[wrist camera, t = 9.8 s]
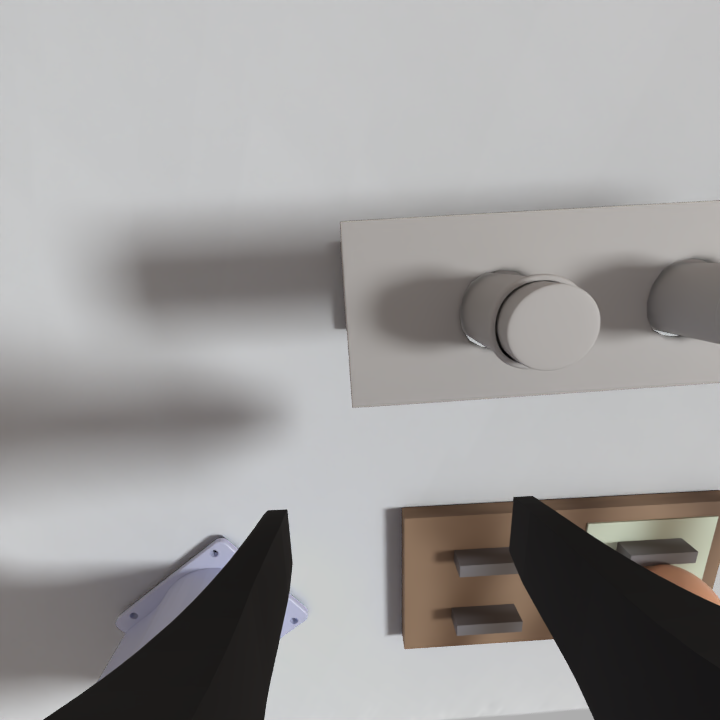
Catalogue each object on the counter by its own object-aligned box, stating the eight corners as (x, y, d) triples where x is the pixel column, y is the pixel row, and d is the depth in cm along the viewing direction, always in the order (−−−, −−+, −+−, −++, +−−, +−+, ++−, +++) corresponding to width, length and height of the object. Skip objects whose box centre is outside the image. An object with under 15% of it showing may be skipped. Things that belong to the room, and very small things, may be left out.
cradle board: (402, 634, 25) (407, 668, 23) (401, 507, 22) (407, 533, 20) (687, 615, 26) (719, 647, 24) (720, 490, 23) (758, 513, 21)
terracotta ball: (629, 614, 24) (690, 690, 20) (596, 573, 23) (653, 645, 19) (690, 577, 23) (767, 648, 19) (658, 533, 22) (733, 599, 18)
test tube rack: (346, 329, 20) (349, 459, 7) (340, 241, 18) (331, 201, 6) (802, 300, 20) (1588, 369, 7) (824, 213, 19) (1802, 121, 6)
